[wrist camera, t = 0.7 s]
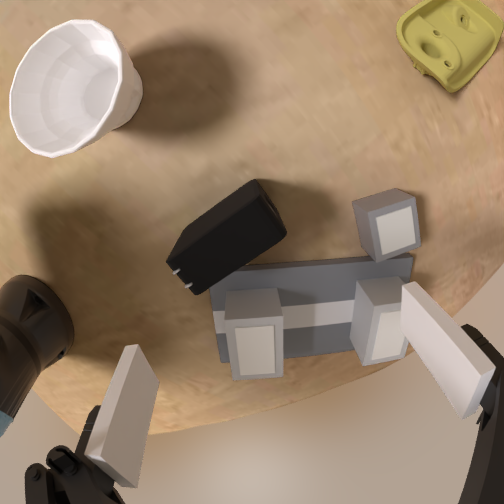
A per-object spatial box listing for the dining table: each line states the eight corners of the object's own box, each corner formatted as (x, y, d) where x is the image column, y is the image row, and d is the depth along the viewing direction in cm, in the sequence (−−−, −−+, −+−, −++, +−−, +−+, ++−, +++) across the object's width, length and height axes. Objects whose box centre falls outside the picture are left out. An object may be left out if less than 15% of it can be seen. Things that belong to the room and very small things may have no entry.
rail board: (221, 355, 42) (218, 395, 35) (208, 267, 36) (201, 301, 29) (392, 336, 42) (412, 369, 35) (408, 252, 37) (438, 278, 29)
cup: (147, 29, 25) (110, -6, 15) (172, 125, 30) (140, 123, 20) (58, 73, 26) (2, 63, 16) (79, 162, 31) (24, 179, 21)
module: (361, 246, 36) (377, 263, 31) (351, 201, 34) (368, 212, 29) (401, 232, 36) (421, 247, 31) (394, 187, 33) (415, 197, 29)
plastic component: (454, -19, 20) (512, 28, 18) (443, 11, 27) (493, 53, 25) (378, 30, 23) (454, 92, 21) (371, 65, 30) (433, 119, 29)
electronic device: (276, 207, 34) (289, 236, 25) (205, 255, 36) (193, 299, 27) (254, 176, 33) (259, 195, 23) (183, 228, 34) (163, 264, 25)
